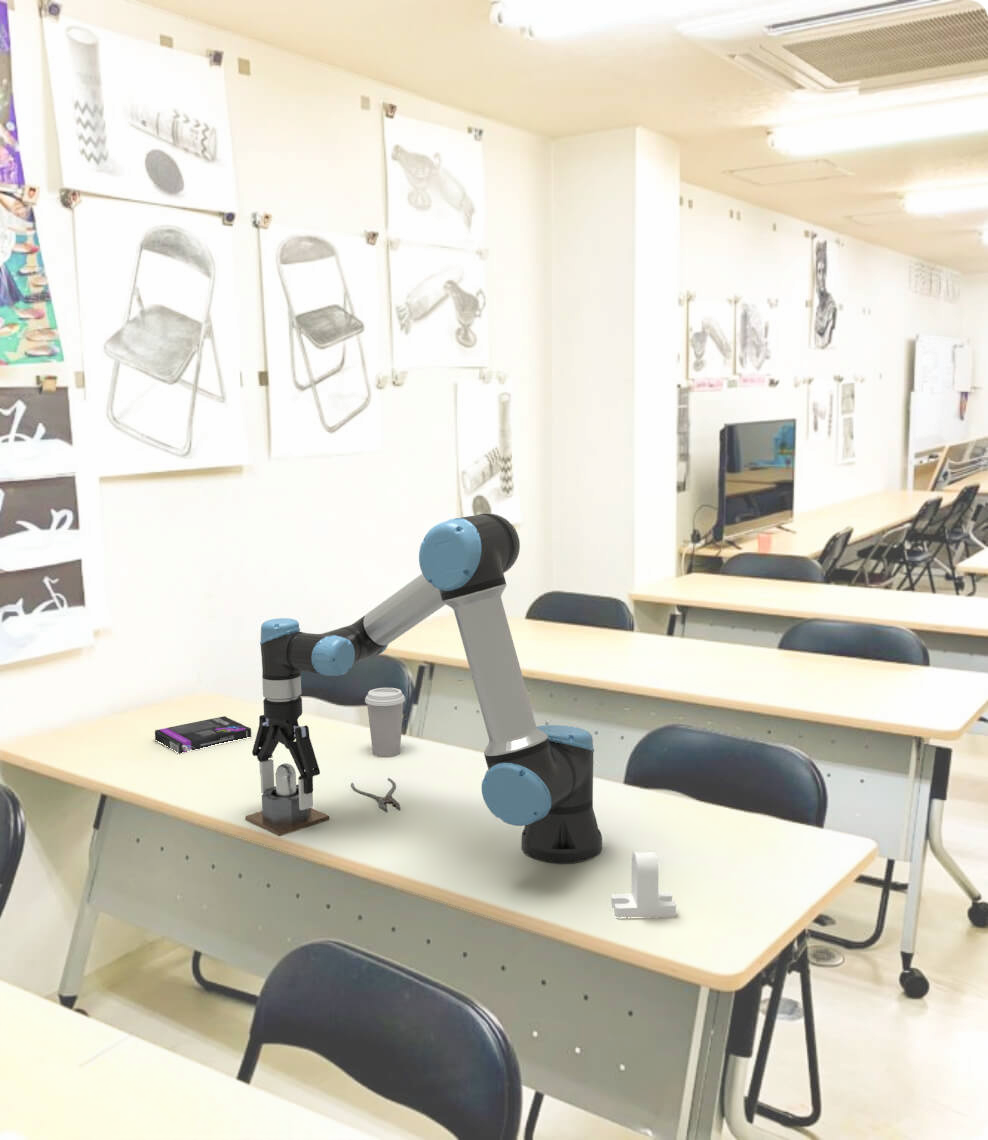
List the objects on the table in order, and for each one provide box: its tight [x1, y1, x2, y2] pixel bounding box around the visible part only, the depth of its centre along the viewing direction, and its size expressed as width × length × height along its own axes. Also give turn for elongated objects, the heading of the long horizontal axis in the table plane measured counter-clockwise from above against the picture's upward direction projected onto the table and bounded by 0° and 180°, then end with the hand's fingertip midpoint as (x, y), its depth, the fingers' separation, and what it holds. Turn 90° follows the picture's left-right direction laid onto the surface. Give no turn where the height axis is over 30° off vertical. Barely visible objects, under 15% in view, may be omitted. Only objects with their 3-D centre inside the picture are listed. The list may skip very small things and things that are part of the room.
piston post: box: [244, 763, 331, 837], centre depth 223 cm, size 12×12×12 cm
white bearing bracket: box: [610, 851, 677, 918], centre depth 182 cm, size 5×10×10 cm, turn 93°
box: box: [154, 715, 252, 754], centre depth 277 cm, size 14×4×20 cm
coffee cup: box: [364, 687, 406, 758], centre depth 264 cm, size 10×10×15 cm
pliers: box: [350, 777, 401, 813], centre depth 238 cm, size 10×1×20 cm
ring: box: [261, 784, 312, 825], centre depth 223 cm, size 9×9×5 cm
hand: (286, 799), depth 223 cm, fingers open, 13 cm apart
